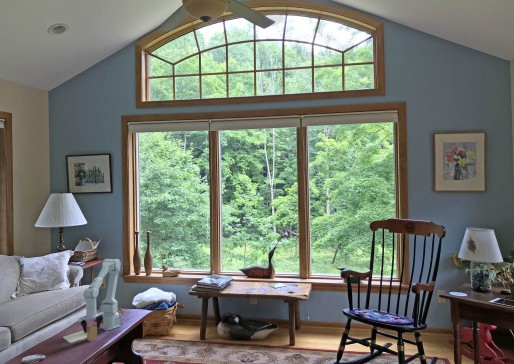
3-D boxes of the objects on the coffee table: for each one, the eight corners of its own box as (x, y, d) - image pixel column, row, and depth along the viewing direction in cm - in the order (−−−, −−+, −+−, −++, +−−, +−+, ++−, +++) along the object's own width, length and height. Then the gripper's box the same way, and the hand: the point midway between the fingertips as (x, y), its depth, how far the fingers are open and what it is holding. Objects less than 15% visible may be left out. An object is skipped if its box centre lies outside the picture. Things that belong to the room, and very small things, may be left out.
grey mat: (86, 330, 236) (86, 329, 236) (94, 335, 228) (94, 334, 228) (62, 337, 226) (62, 336, 226) (70, 343, 218) (70, 342, 218)
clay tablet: (113, 311, 271) (93, 321, 252) (113, 304, 271) (93, 314, 252) (129, 313, 267) (110, 323, 248) (129, 306, 267) (110, 316, 248)
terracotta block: (94, 337, 226) (93, 324, 226) (97, 339, 223) (96, 325, 223) (86, 339, 223) (86, 326, 223) (90, 341, 220) (89, 328, 220)
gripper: (81, 312, 215) (82, 336, 215) (106, 306, 225) (106, 328, 225) (76, 310, 220) (77, 333, 220) (100, 303, 230) (101, 325, 230)
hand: (91, 330), depth 223 cm, fingers open, 7 cm apart
